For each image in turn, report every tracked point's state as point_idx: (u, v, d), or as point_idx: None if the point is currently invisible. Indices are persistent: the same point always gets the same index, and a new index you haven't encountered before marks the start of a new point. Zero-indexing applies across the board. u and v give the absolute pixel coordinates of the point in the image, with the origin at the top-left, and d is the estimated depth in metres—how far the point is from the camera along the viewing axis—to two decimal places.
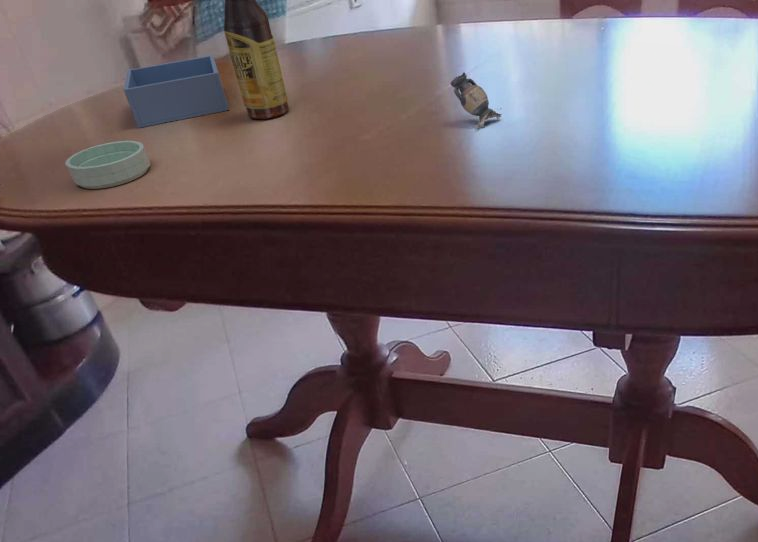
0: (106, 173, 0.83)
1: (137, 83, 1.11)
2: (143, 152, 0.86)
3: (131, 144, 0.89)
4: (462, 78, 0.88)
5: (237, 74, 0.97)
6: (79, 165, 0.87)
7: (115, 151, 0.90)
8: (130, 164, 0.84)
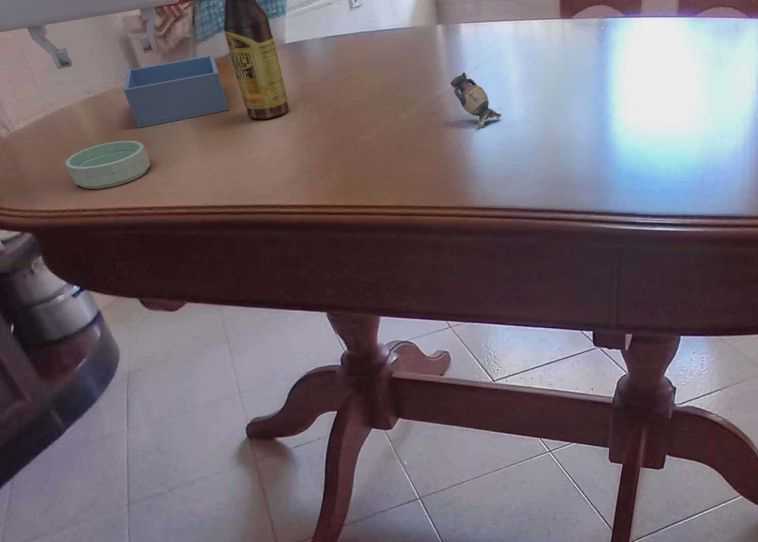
0: (106, 173, 0.83)
1: (137, 83, 1.11)
2: (143, 152, 0.86)
3: (131, 144, 0.89)
4: (462, 78, 0.88)
5: (237, 74, 0.97)
6: (79, 165, 0.87)
7: (115, 151, 0.90)
8: (130, 164, 0.84)
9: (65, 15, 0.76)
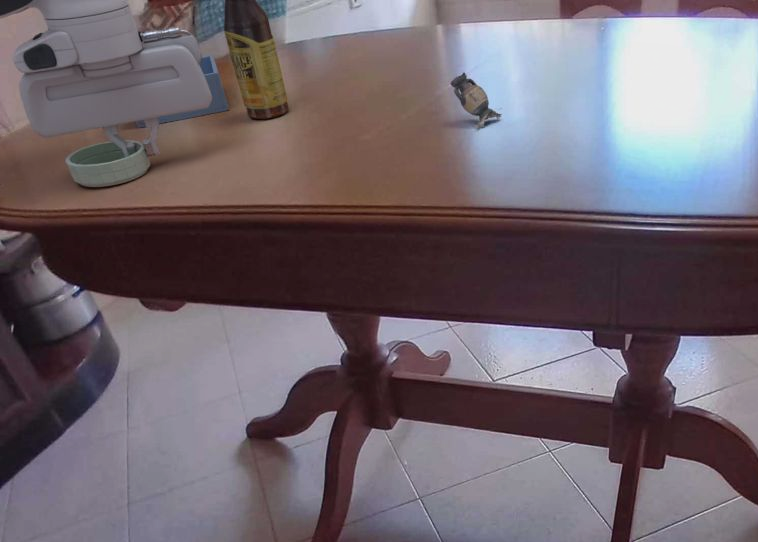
0: (106, 172, 0.83)
1: None
2: (144, 152, 0.86)
3: None
4: (462, 78, 0.88)
5: (237, 74, 0.97)
6: (79, 163, 0.87)
7: (116, 150, 0.90)
8: (131, 164, 0.84)
9: (106, 122, 0.83)
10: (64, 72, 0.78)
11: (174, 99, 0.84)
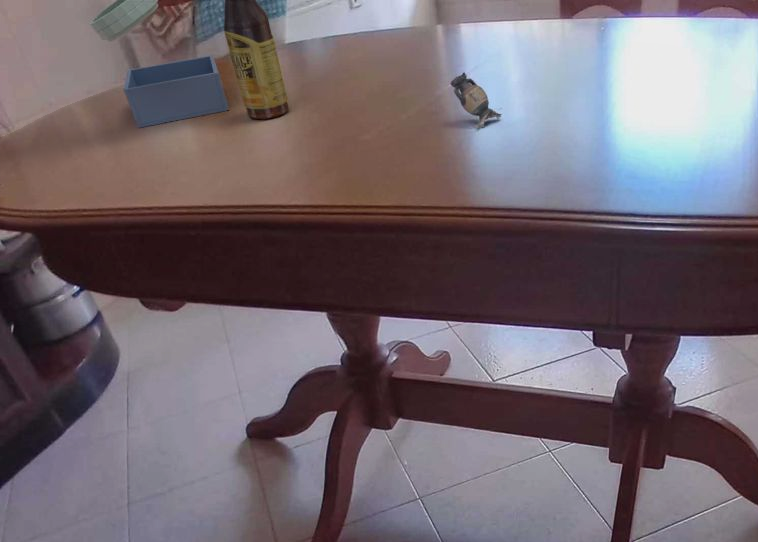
0: (121, 15, 0.89)
1: (137, 83, 1.11)
2: None
3: None
4: (462, 78, 0.88)
5: (237, 74, 0.97)
6: None
7: None
8: (138, 1, 0.89)
9: None
10: None
11: None
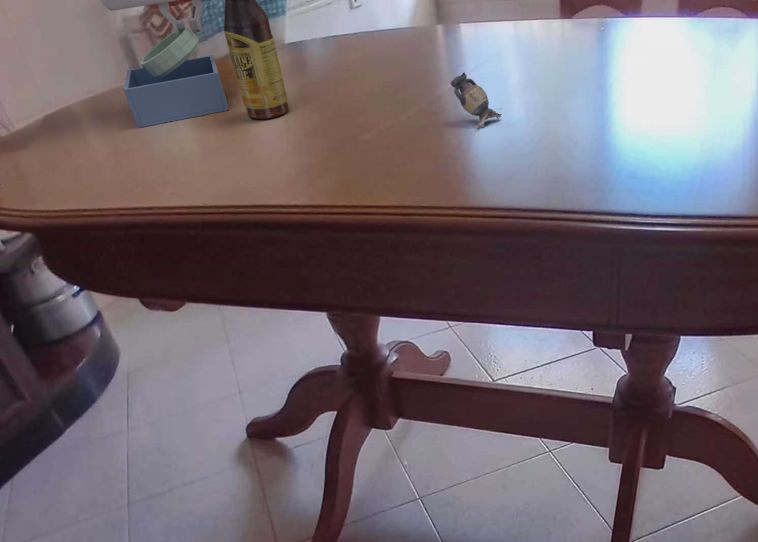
0: (169, 56, 1.02)
1: (137, 83, 1.11)
2: (189, 30, 1.04)
3: None
4: (462, 78, 0.88)
5: (237, 74, 0.97)
6: None
7: (172, 43, 1.08)
8: (183, 42, 1.02)
9: None
10: None
11: None
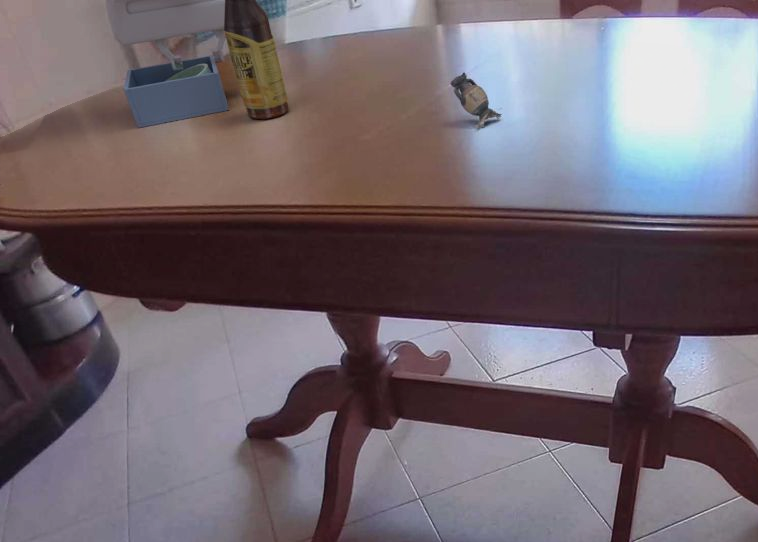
0: None
1: (137, 83, 1.11)
2: (208, 69, 1.07)
3: (198, 67, 1.10)
4: (462, 78, 0.88)
5: (237, 74, 0.97)
6: None
7: None
8: None
9: (172, 33, 1.03)
10: None
11: None
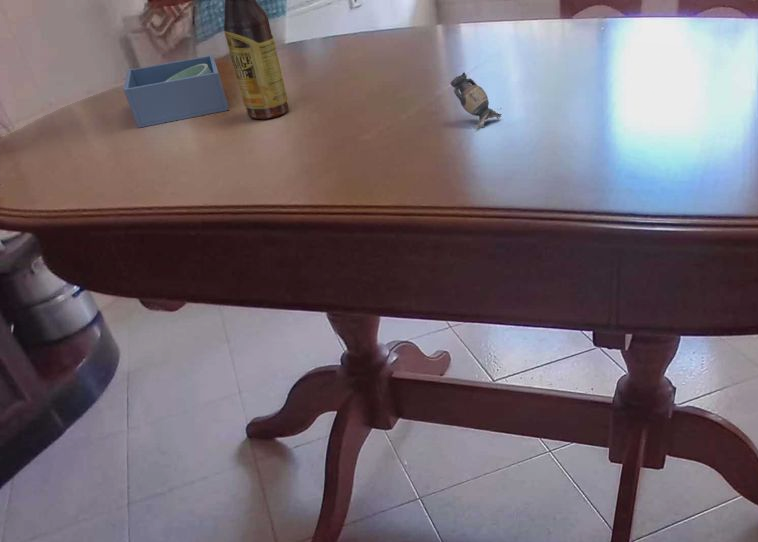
0: None
1: (137, 83, 1.11)
2: (208, 69, 1.07)
3: (198, 67, 1.10)
4: (462, 78, 0.88)
5: (237, 74, 0.97)
6: None
7: None
8: None
9: None
10: None
11: None
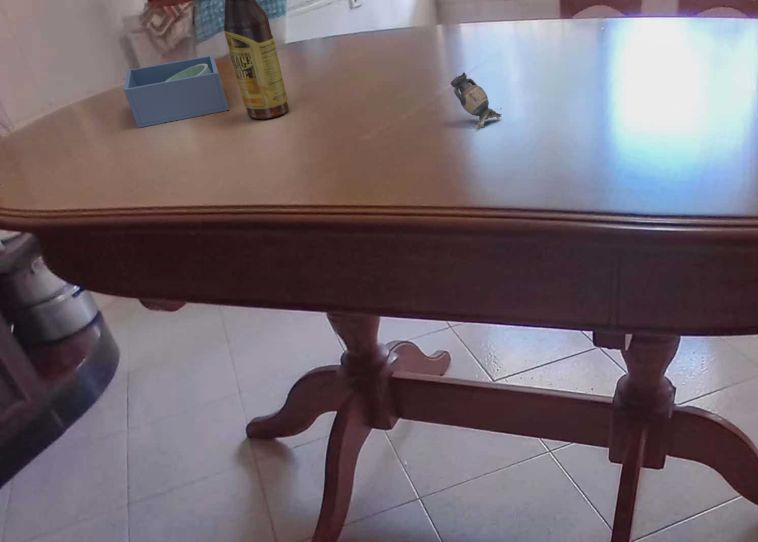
0: None
1: (137, 83, 1.11)
2: (208, 69, 1.07)
3: (198, 67, 1.10)
4: (462, 78, 0.88)
5: (237, 74, 0.97)
6: None
7: None
8: None
9: None
10: None
11: None
